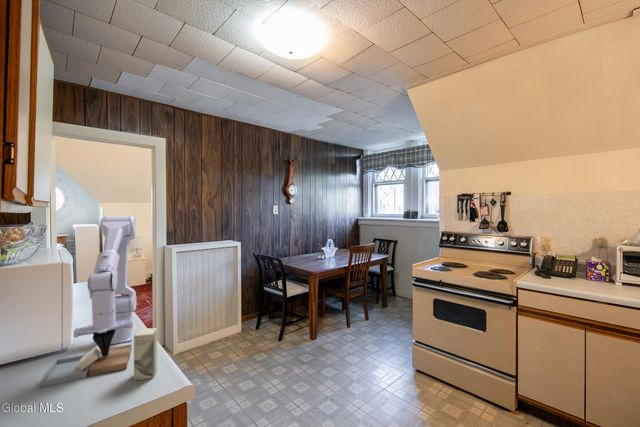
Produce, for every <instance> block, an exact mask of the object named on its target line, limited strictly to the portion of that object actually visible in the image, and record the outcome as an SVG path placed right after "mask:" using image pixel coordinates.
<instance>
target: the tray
mask: <svg viewBox="0 0 640 427" xmlns="http://www.w3.org/2000/svg"><path fill="white" fill-rule="evenodd" d="M86 354H87V353H85V354H79V355H74V356H70V357H63V358H58V359H55V360H54V362H53V363H52V365H50V367H49V368H48V370H47V371H46V373H45V374H44V376H43V377H42V379H41V380H40V381H39V387H40V388H43V387H48V386H52V385H57V384H63V383H68V382H72V381H77V380H81V379H86V378H88V377H89V369H90V366H91V364H92V363H91V364H90V365H89V366H88V367H86V368H85V369H84V370H83V371H81V370H80V369H79V368H78V367H77V365H78V363H79V361H80V360H81V358H82V357H83V356H85V355H86Z"/></svg>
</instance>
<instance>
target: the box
mask: <svg viewBox="0 0 640 427" xmlns="http://www.w3.org/2000/svg"><path fill="white" fill-rule="evenodd" d="M157 369H158V328H157V327H153V328H151V327H150V328H141V329H137V330H136V331H135V333H134V336H133V380H134V381H138V380H139V381H140V380H147V379H153V378H154V377H155V375H156V373H157Z"/></svg>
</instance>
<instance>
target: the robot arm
mask: <svg viewBox="0 0 640 427" xmlns="http://www.w3.org/2000/svg"><path fill="white" fill-rule="evenodd" d="M99 224H100V226H99V227H100V231H101V232H102V235H103V236H104V244H103V251H101V252H99V253H98V255H97V259H96V262H95V266H94V270H93V273H92V274H90V275H88V278H87V291H88V295H89V299H91V311H92V312H91V318H92V319H91V320H92V324H90V325H87V326H83V327H78V328H74V330H73V339H74V338H75V339H76V338H78V337H80V336H88V335H92V334H93V336H92V340H93V341H94V342H95V344H96V346H98V347H99V349H100V351H101V354H102V357H104V356H108V354H109V348H111V346H112V345H116V344H120V343H121V344H122V343H127V342H132V341H134V335H135V333H136V329H135V328H134V320H133V316H132V314H133V313H134V312H135V311H136V309H137V293H136V291H135V289H134V288H133V287H131V286H129V285H128V278H129V276H128V274H129V249H130V248H129V247H130V243H131V241H132V240H134V239H136V233H137V220H136V217H135V216H134V215H125V216H122V215H121V216H120V215H119V216H116V215H115V216H108V215H103V217H101V219H100V223H99Z"/></svg>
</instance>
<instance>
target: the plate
mask: <svg viewBox="0 0 640 427" xmlns="http://www.w3.org/2000/svg"><path fill="white" fill-rule="evenodd" d="M131 354H132V344H127V345H121V346H116V347H110V348H109V354H108V356H104V357H102V354H100V356H99V358H98V359H97V360H95V361H94V362H93V363H92V364H91V366H90V369H89V374H88V377H89V378H90V377H95V376H96V377H97V376H99V375H105V374H110V373H114V372H119V371H123V370H127V368H128V365H129V361H130V358H131Z"/></svg>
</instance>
